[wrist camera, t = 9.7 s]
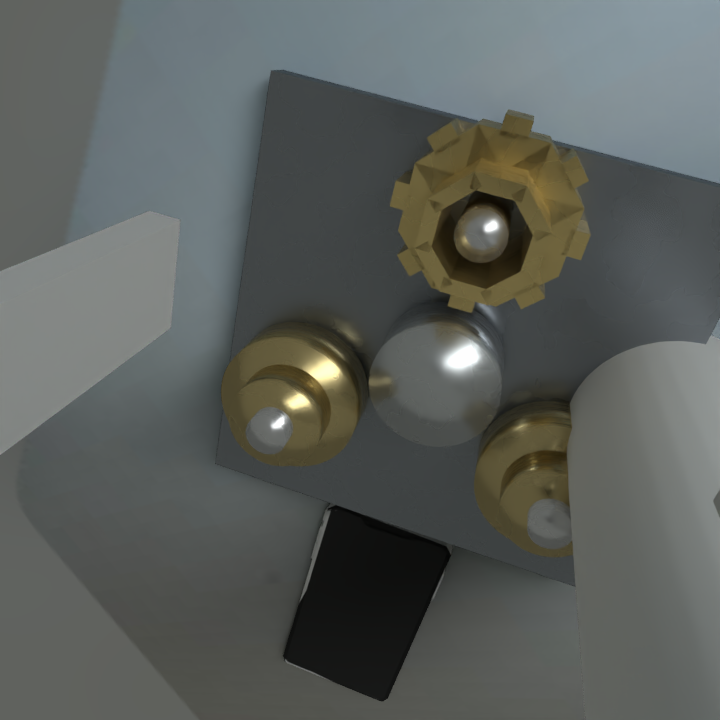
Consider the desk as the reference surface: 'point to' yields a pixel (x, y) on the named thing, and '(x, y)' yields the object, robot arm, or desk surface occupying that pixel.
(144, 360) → the desk surface
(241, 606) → the desk surface
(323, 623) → the smartphone
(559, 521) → the plate
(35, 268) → the robot arm
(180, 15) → the desk surface
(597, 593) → the cylinder container
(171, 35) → the desk surface
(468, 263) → the gear
